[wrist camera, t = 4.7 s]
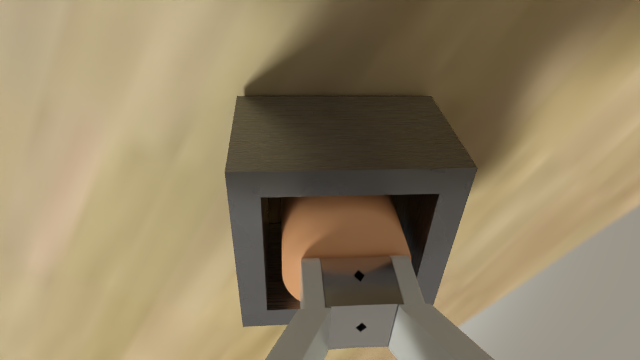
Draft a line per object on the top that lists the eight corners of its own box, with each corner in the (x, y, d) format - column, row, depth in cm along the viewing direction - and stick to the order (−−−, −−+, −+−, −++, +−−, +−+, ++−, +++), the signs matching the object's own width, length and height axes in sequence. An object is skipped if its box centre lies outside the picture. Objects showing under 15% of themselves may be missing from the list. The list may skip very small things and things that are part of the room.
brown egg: (281, 231, 15) (282, 313, 13) (280, 148, 13) (281, 225, 11) (378, 228, 16) (400, 308, 13) (392, 147, 14) (422, 221, 11)
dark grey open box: (249, 238, 17) (242, 326, 14) (237, 96, 13) (224, 171, 10) (401, 234, 18) (429, 317, 14) (431, 96, 14) (477, 168, 11)
